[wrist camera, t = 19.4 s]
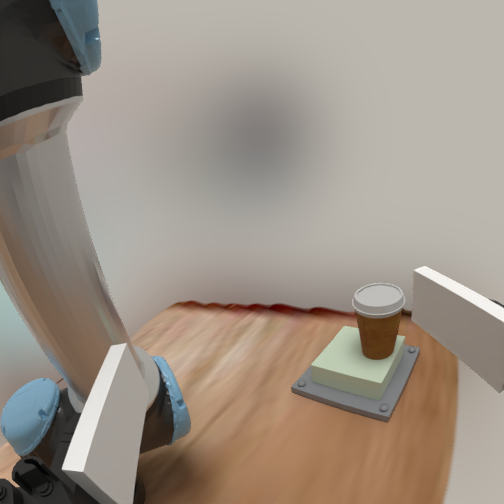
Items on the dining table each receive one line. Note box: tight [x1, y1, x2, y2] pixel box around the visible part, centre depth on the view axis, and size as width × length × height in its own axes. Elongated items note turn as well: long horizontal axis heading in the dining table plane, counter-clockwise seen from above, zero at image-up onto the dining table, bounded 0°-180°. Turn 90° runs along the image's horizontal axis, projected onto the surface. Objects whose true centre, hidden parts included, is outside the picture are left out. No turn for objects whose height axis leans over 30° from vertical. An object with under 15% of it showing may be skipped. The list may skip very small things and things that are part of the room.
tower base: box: [291, 326, 420, 422], centre depth 52 cm, size 20×20×6 cm
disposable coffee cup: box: [352, 283, 405, 360], centre depth 48 cm, size 10×10×12 cm
